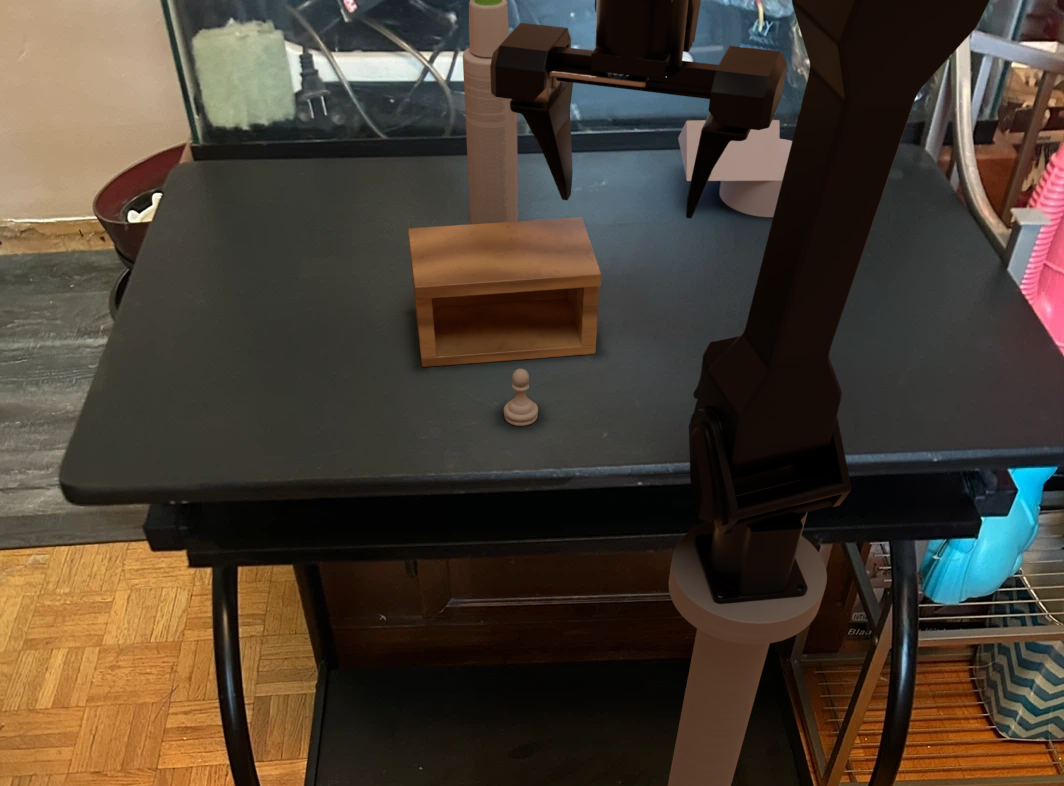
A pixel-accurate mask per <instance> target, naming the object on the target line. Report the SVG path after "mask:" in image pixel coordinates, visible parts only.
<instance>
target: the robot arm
mask: <svg viewBox="0 0 1064 786" xmlns="http://www.w3.org/2000/svg"><path fill="white" fill-rule="evenodd" d="M990 1H991V0H791V5H792V8H793V13H794V15H795V18H796V21H797V25H798V28H799V32H800V35H801V37H802V42H803V45H804V48H805V51H806V55H807V58H808V62H809V69H808V76H807V81H806V84H805V89H804V92H803V93H804V94H803V97H802V101H801V105H800V109H799V113H798V116H797V121H796V123H795V124H796V125H795V129H794V132H793V136H792V140H791V141H792V144H791V148H790V152H789V156H788V160H787V164H786V168H785V172H784V176H783V180H782V184H781V188H780V192H779V196H778V200H777V204H776V208H775V212H774V216H773V217H772V221H771V223H770V229H769V232H768V237H767V240H766V244H765V248H764V252H763V256H762V261H761V263H760V268H759V272H758V276H757V280H756V285H755V288H754V292H753V295H752V300H751V304H750V307H749V312H748V316H747V320H746V324H745V327H744V330H743V332H742V333H741V334H740V335H735V336H731V337H726V338H721V339H717V340H712V341H710V342H709V344H708V345H707V346H706V349H705V350H704V352H703V354H702V361H701V371H700V377H699V380H698V383H697V386H696V388H695V389H694V391H693V393H692V395H693V399H695V400H696V402H695V406H694V410H693V413H692V414H691V418H690V421H689V424H688V445H689V448H688V449H689V478H690V479H689V481H690V485H691V492H692V494H693V496H694V497H695V499H696V504H695V510H694V514H695V515H696V516H697V518H698V519H699V520H701V521H704V522H710V523H714V524H715V526H714V531H713V534H706V535H698V536H696V537H695V540H694V546H695V549H696V552H697V555H698V558H699V561H700V564H701V567H702V570H703V573H704V576H705V578H706V581H707V584H708V587H709V590H710V593H711V596H712V599H713V601H714V602H715V603H717V604H729V603H740V602H750V601H761V600H771V599H781V598H792V597H802V596H804V595H806V593H807V589H808V587H807V584H806V582H805V580H804V577H803V575H802V573H801V570H800V568H799V565H798V563H797V561H796V558H795V556H796V552H797V549H798V545H799V541H800V538H801V536H802V535H803V531H804V526H805V523H806V519H807V516H808V512H812V511H817V510H820V509H825V508H828V507H831V508H834V507H838V506H840V505H841V504H842V503H843V502H844V500H845V499H846V498H847V497H848V495H849V494H850V493H851V491H852V483H851V478H850V473H849V468H848V463H847V458H846V454H845V453H846V452H845V449H844V444H843V438H842V433H841V429H840V428H841V427H840V424H839V423H840V422H839V418H838V413H839V410H840V406H841V405H840V404H841V400H842V395H843V391H842V388H841V386H840V382H839V381H838V378H837V375H836V372H835V370H834V367H833V365H832V362H831V358H830V354H831V353H830V352H831V348H832V346H833V342H834V339H835V336H836V333H837V330H838V328H839V325H840V322H841V319H842V315H843V312H844V310H845V307H846V304H847V301H848V298H849V295H850V292H851V289H852V286H853V283H854V280H855V278H856V274H857V271H858V268H859V265H860V262H861V260H862V257H863V253H864V250H865V248H866V244H867V241H868V238H869V236H870V233H871V230H872V227H873V224H874V222H875V218H876V215H877V213H878V209H879V206H880V203H881V201H882V198H883V194H884V192H885V189H886V186H887V184H888V180H889V177H890V174H891V171H892V168H893V166H894V162H895V160H896V157H897V153H898V151H899V148H900V145H901V142H902V138H903V136H904V133H905V130H906V128H907V124H908V122H909V118H910V115H911V113H912V110H913V107H914V104H915V101H916V98H917V96H918V94H919V92H920V91H921V90H922V88H923V87H924V86H925V85H926V84H927V83H928V81H930V79H931V78H932V77H933V76H934V75H935V74H936V73H937V72H938V70H940V68H941V67H942V66H943V65H944V64H945V63H946V62H947V60H948V59H949V58H950V57H951V56H952V55H953V54H954V53H955V52H956V51H957V50H958V49H959V47H960V46H961V45H962V44H963V43H964V42H965V41H966V39H967V38H968V37H969V36H970V35H971V34H972V33H973V32H974V31H975V29H976V28H977V27H978V25H979V23H980V21H981V19H982V17H983V15H984V14H985V11H986V8H987V7H988V5H989V3H990ZM701 2H702V0H594V13H595V35H594V49H593V50H592V49H584V48H576V47H572V37H571V34H570V31H569V28H568V27H565V26H564V27H563V26H557V25H556V26H554V25H547V24H546V25H545V24H537V23H526V22H519V24H518V25H517V26H515V28H514V29H513V30H512V31H511V32H510V33H509V36H508V37H507V38H506V39H505V40H504V41H503V42H502V44H501V45H500V46H499V47H498V48H497V49H496V50H495V51H494V52H493V55H492V60H491V65H490V73H491V93H492V94H493V95H494V96H495V97H499V98H507V99H512V100H511V101H510V110H511V111H512V112H515V113H517V114H520V115H521V116H523V118H524V120H525V122H526V124H527V127H528V128H529V129H530V131H531V133H532V135H533V137H534V139H535V140H536V142H537V144H538V146H539V148H540V150H541V152H542V154H543V157H544V159H545V161H546V163H547V166H548V169H549V171H550V174H551V176H552V179H553V182H554V184H555V186H556V189H557V191H558V193H559V196H560V198H561V200H562V201H569V199H570V198H571V195H572V187H573V173H574V172H573V171H574V169H573V149H572V147H573V146H572V125H571V123H572V122H571V104H572V98H573V97H572V96H573V87H574V84H581V85H588V86H589V85H590V86H597V87H598V86H599V87H604V88H605V87H607V88H614V89H623V90H630V91H631V90H632V91H639V92H648V93H656V94H663V95H672V96H680V97H686V98H687V97H688V98H689V97H690V98H697V99H705V100H706V99H707V100H709V102H708V112H709V113H708V115H707V117H706V119H705V120H706V122H705V124H704V126H703V128H702V130H701V135H700V140H699V144H698V149H697V154H696V159H695V164H694V168H693V173H692V178H691V181H690V183H689V188H688V193H687V198H686V207H685V218H686V219H692V218H693V216H694V213H695V212H696V210H697V207H698V205H699V202H700V200H701V198H702V196H703V193H704V191H705V188H706V186H707V184H708V182H709V181H708V179H709V177H710V175H711V172H712V170H713V168H714V166H715V165H716V163H717V162H718V160H719V158H720V157H721V155H722V153H723V152H724V150H725V148H726V147H727V145H728V144H729V142H730V141H744V140H746V139H747V137H748V135H749V132H750V130H751V129H753V130H762V129H766V128H769V126H770V124H771V121H772V120H774V117H775V114H776V112H777V109H778V107H779V105H780V102H781V100H782V97H783V92H784V88H785V87H784V86H785V81H786V76H787V75H786V74H787V65H788V63H787V61H786V59H785V57H784V55H783V53H782V51H780V50H773V49H764V48H763V49H762V48H755V47H754V48H753V47H745V46H736V45H728V46H727V48H726V50H725V52H724V54H723V56H722V58H721V59H720V62H719V63H718V64H715V63H707V62H699V61H698V62H697V61H688V60H683V57H684V53H689V52H690V50H691V49H692V47H693V43H695V41H696V34H697V28H698V21H699V14H700V9H701V4H702V3H701ZM799 589H801V590H799ZM718 596H721V597H718Z"/></svg>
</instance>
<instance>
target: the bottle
mask: <svg viewBox="0 0 1064 786" xmlns="http://www.w3.org/2000/svg"><path fill="white" fill-rule="evenodd" d="M509 26H510V25H509V12H508V1H507V0H469V2H468V37H469V41H468V42H469V47H468V48H466V49H465V50H464V51H463V52H462V72H463V73H462V74H463V94H464V112H465V113H464V114H465V116H464V117H465V130H466V131H465V136H466V154H467V155H466V157H467V158H466V159H467V176H468V180H467V181H468V199H469V218H470V219H469V221H470V224H484V223H500V222H515V221H519V175H518V174H519V170H518V167H519V166H518V165H519V164H518V162H519V160H518V159H519V158H518V155H519V154H518V113H515V112H512V111H511V110H510V101H511V100H512V99H507V98H499V97H495V96H494V95H493V94H492V93H491V73H490V65H491V60H492V55H493V52H494V51H495V50H496V49H497V48H498V47H499V46H500V45H501V44H502V42H503V41H504V40H505V39H506V38H507V37H508V36H509V35H510V33H509V32H510V30H509V29H510V28H509Z"/></svg>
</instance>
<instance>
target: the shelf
mask: <svg viewBox="0 0 1064 786" xmlns="http://www.w3.org/2000/svg"><path fill="white" fill-rule="evenodd" d="M407 232H408V243H409V244H408V245H409V252H410V253H409V254H410V264H411V274H412V287H413V295H414V306H415V308H414V309H415V315H416V316H415V317H416V318H415V319H416V326H417V333H418V342H419V353H420V361H421V367H422V368H428V367H439V366H441V367H442V366H455V365H467V364H468V365H469V364H481V363H493V362H505V361H507V362H509V361H522V360H533V359H534V360H535V359H546V358H547V359H548V358H559V357H573V356H585V355H586V356H587V355H595V354H596V352H597V351H596V350H597V347H596V346H597V335H598V318H599V317H598V315H599V297H600V287H601V286H602V272H601V270H600V267H599V264H598V260H597V257H596V254H595V251H594V249H593V245H592V243H591V240H590V236H589V234H588V231H587V228H586V225H585V222H584V218H583V217H582V216H577V217H562V218H561V217H560V218H547V219H533V220H531V219H530V220H518V221H515V222H500V223H484V224H471V223H470V224H457V225H455V224H454V225H439V226H427V227H425V226H424V227H412V228H411V227H409V228H408V229H407Z"/></svg>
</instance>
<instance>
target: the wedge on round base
mask: <svg viewBox="0 0 1064 786" xmlns="http://www.w3.org/2000/svg"><path fill="white" fill-rule="evenodd" d="M706 120H707V119H705V120H703V119H702V120H701V119H699V120H697V119H696V120H693V119H692V120H686V121H685V123H684V125H683V127H682V129H681V132H680V133H679V135H678V137H677V140H678V145H679V149H680V154H681V158H682V159H681V160H682V163H683V168H684V173H685V179H686V182H691V178H692V173H693V168H694V164H695V159H696V154H697V149H698V144H699V140H700V135H701V130H702V128H703V126H704V124H705V122H706ZM780 133H781V131H780V119H772V121H771V124H770V126H769V128H766V129H762V130H753V129H751V130H750V132H749V135H748V137H747V139H746V140H744V141H730V142H729V144H728V145H727V147H726V148H725V150H724V152H723V153H722V155H721V157H720V158H719V160H718V162H717V163H716V165H715V166H714V168H713V170H712V172H711V175H710V177H709V179H708V182H720V185H719V197H720V199H721V201H722V202H723V203H724V204H725V205H726V206H728V208H729V207H730V208H731V209H733V210H735V211H737V212H739V213H741V214H745V215H748V216H749V215H750V216H753V217H760V218H773V216H774V212H775V208H776V204H777V200H778V196H779V192H780V188H781V184H782V180H783V176H784V172H785V168H786V164H787V160H788V156H789V152H790V148H791V144H792V140H790V139H784V138H780V136H781V135H780Z"/></svg>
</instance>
